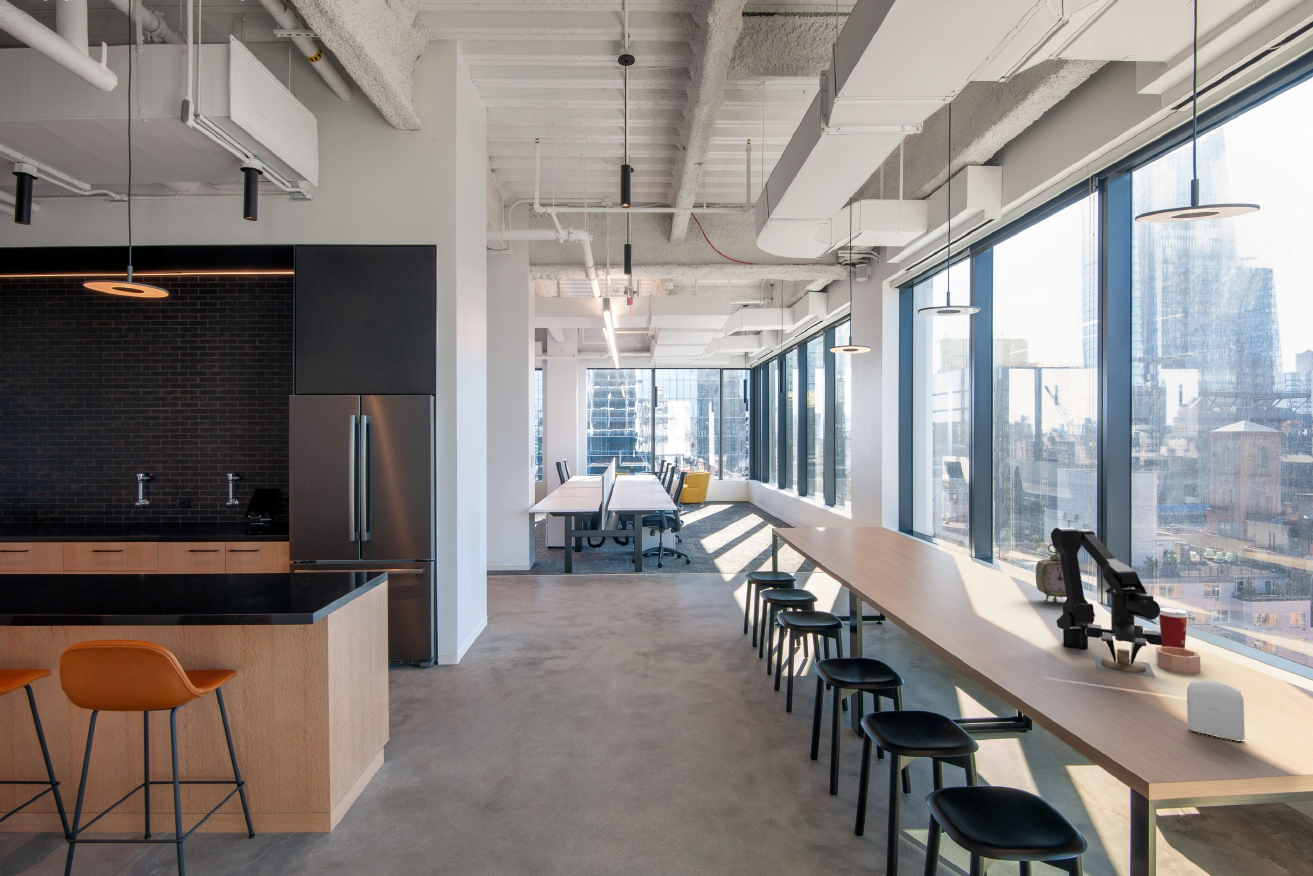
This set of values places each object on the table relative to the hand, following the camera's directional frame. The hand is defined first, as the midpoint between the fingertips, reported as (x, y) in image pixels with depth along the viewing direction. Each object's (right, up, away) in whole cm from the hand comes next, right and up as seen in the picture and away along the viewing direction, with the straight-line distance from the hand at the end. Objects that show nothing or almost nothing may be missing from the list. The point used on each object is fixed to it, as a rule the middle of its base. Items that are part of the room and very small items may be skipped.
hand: (1123, 662), depth 200 cm
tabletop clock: (+27, -2, +78) cm, 83 cm away
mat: (0, -2, 0) cm, 2 cm away
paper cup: (+25, -2, +12) cm, 28 cm away
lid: (0, -1, 0) cm, 1 cm away
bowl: (+16, -1, -1) cm, 16 cm away
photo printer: (-10, -2, -45) cm, 46 cm away
